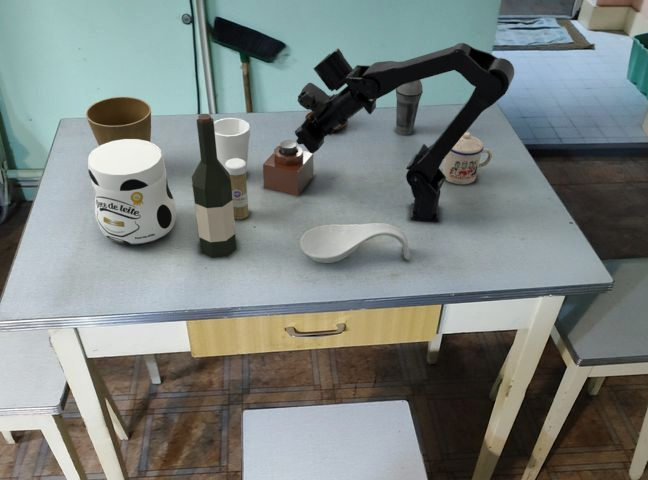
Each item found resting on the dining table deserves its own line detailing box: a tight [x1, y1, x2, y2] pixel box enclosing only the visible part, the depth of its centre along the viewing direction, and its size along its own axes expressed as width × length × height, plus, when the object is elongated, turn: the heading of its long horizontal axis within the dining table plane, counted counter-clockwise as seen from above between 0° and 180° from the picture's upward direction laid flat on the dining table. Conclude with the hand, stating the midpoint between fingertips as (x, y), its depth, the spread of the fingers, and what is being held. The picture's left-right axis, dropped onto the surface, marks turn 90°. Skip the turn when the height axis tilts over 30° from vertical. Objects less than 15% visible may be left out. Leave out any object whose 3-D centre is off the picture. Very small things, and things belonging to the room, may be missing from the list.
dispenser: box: [262, 145, 314, 197], centre depth 164 cm, size 9×10×8 cm
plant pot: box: [85, 96, 152, 147], centre depth 163 cm, size 15×15×16 cm
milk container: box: [87, 139, 177, 246], centre depth 145 cm, size 17×17×18 cm
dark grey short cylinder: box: [279, 139, 298, 156], centre depth 160 cm, size 4×4×2 cm
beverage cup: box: [395, 80, 424, 136], centre depth 180 cm, size 7×7×20 cm
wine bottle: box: [191, 113, 238, 259], centre depth 136 cm, size 8×8×30 cm
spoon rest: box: [299, 222, 411, 264], centre depth 143 cm, size 24×12×7 cm, turn 93°
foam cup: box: [214, 117, 251, 173], centre depth 164 cm, size 10×9×13 cm
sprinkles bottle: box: [225, 158, 250, 220], centre depth 151 cm, size 5×5×14 cm
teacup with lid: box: [442, 131, 493, 185], centre depth 167 cm, size 12×9×12 cm
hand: (297, 142), depth 158 cm, fingers closed
